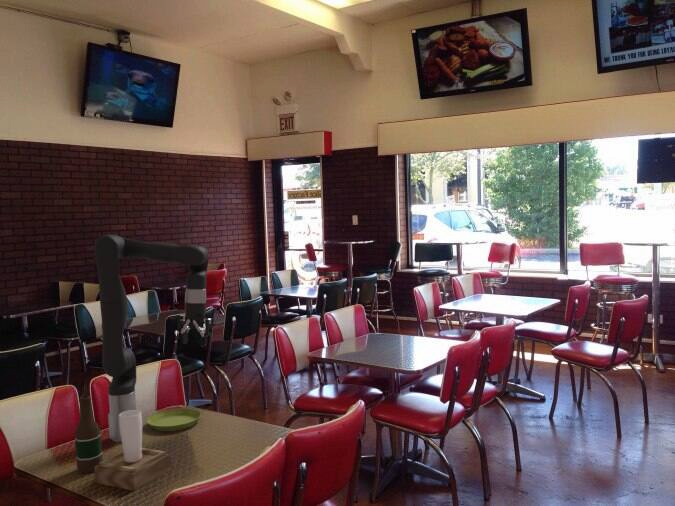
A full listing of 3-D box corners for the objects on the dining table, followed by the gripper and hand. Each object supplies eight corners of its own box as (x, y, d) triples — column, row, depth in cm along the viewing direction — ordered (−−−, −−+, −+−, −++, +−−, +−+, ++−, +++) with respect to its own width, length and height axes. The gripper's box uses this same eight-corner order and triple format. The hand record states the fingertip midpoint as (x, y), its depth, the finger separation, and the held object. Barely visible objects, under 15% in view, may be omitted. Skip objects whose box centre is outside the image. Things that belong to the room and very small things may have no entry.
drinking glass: (137, 464, 183) (134, 417, 182) (117, 464, 184) (114, 416, 183) (148, 455, 189) (145, 409, 188) (129, 455, 191) (125, 409, 190)
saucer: (173, 437, 219) (172, 429, 219) (135, 429, 230) (135, 421, 230) (212, 420, 237) (212, 412, 236) (176, 412, 247) (175, 405, 247)
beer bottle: (71, 472, 192) (66, 399, 190) (90, 462, 199) (84, 392, 197) (90, 475, 189) (84, 401, 187) (108, 465, 196) (103, 393, 194)
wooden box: (95, 482, 183) (94, 463, 183) (133, 462, 197) (132, 444, 197) (134, 490, 176) (133, 471, 176) (171, 469, 191) (170, 450, 190)
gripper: (173, 300, 216) (171, 344, 217) (204, 303, 210) (203, 349, 211) (187, 298, 223) (185, 341, 224) (217, 301, 217) (216, 345, 218)
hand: (194, 345), depth 217 cm, fingers open, 8 cm apart
